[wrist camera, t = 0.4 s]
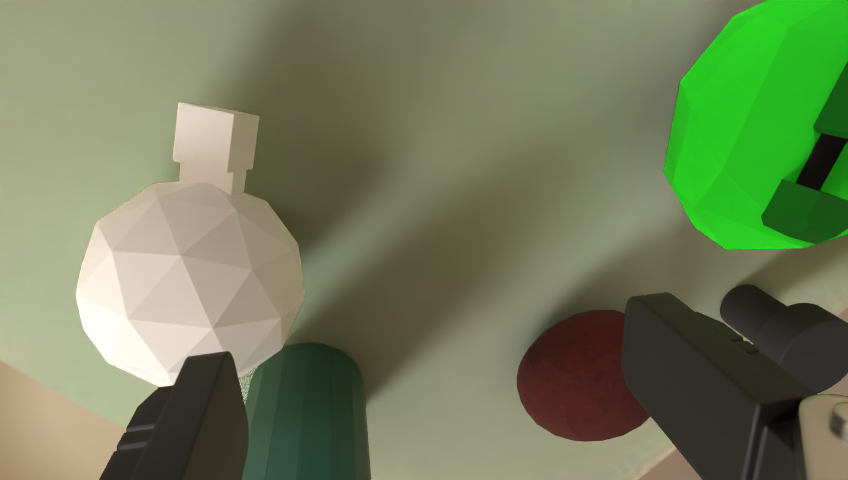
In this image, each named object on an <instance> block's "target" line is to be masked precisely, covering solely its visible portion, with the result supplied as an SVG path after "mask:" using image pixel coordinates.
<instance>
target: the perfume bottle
mask: <svg viewBox="0 0 848 480" xmlns="http://www.w3.org/2000/svg"><path fill="white" fill-rule="evenodd" d="M259 117H260V116H257V115H253V114H248V113H243V112H238V111H234V110H229V109H224V108H220V107H215V106H210V105H201V104H190V103H180V102H178V111H177V121H176V131H175V142H174V152H173V161H175V162H180V163H181V164H180V174H179V181H178V182H163V183H154V184H152V185H151V186H149V187H148V188H146V189H145V190H143V191H142V192H140V193H139V194H137V195H136V196H134V197H133V198H131V199H130V200H128V201H127V202H125V203H124V204H122V205H121V206H120V207H118V208H117V209H115V210H114V211H112V212H111V213H109V214H108V215H106V216H105V217H103V218H102V219H100V220H99V221H97V222H96V224H95V227H94V230H93V233H92V236H91V239H90V242H89V245H88V248H87V251H86V254H85V257H84V260H83V263H82V266H81V270H80V275H79V280H78V284H77V289H76V299H77V304H78V308H79V313H80V318H81V322H82V327H83V330H84V331H85V332H86V334H87V335H88V337H89V338H90V339H91V341H92V342H93V343H94V345H95V346H96V347H97V349H98V350H99V351H100V353H101V354H102V356H103V357H104V358H105V360H106V361H107V362H108V363H109V364H111V365H113V366H115V367H118V368H120V369H122V370H124V371H126V372H128V373H131V374H133V375H135V376H137V377H139V378H142V379H144V380H146V381H148V382H150V383H152V384H155V385H157V386H159V387H164V386H171V385H174V383H175V381H176V379H177V377H178V374H179V372H180V370H181V368H182V366H183V364H184V361H185V360H186V358H187V357H189V356H195V355H202V354H209V353H217V352H224V351H229V352H230V353H231V354H232V356H233V359H234V362H235V366H236V371H237V375H238V379H239V378H241V377H242V376H244V375H245V374H247V373H248V372H250V371H251V370H252V369H254V368H255V367H257V366H258V365H260V364H261V363H263V362H264V361H266V360H267V359H268V358H270V357H271V356H273V355H274V354H276V353H277V352H279V351H280V350H281V349H282V347H283V345H284V343H285V341H286V339H287V336H288V334H289V332H290V330H291V328H292V325H293V323H294V321H295V319H296V317H297V315H298V312H299V310H300V308H301V306H302V304H303V301H304V299H305V297H306V296H305V289H304V282H303V275H302V268H301V261H300V254H299V247H298V243H297V242H296V240H295V239H294V238H293V236H292V235H291V234H290V232H289V231H288V230H287V228H286V227H285V226H284V224H283V223H282V221H281V220H280V219H279V217H278V216H277V215H276V213H275V212H274V211H273V209H272V208H271V207H270V205H269V204H268V203H267V201H265V200H262V199H259V198H257V197H254V196H252V195H249V194H247V193H244V187H245V179H246V172H247V170H250V169H253V163H254V155H255V147H256V140H257V132H258V124H259Z"/></svg>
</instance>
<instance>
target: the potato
mask: <svg viewBox="0 0 848 480" xmlns="http://www.w3.org/2000/svg"><path fill="white" fill-rule="evenodd" d="M624 322H625V313H623V312H619V311H614V310H591V311H587V312H583V313H578V314H575V315H573V316H571V317H569V318H567V319H564V320H562V321H560V322H558V323H557V324H555V325H554V326H552V327H551V328H549V329H548V330H546V331H545V332H544V333H543V334H542V335H541V336H539V338H538V339H537V340H536V341H535V342H534V343H533V344H532V345H531V346H530V347H529V349H528V350H527V352H526V354H525V355H524V357H523V359H522V361H521V363H520V365H519V370H518V374H517V388H518V392H519V396H520V400H521V402H522V404H523V406H524V408H525V410H526V411H527V413H528V414H529V415H530V416H531V418H532V419H533V420H534V421H535V422H536V423H537V424H538V425H539V426H541V427H543V428H544V429H546V430H547V431H549V432H551V433H552V434H554V435H556V436H560V437H563V438H566V439H570V440H573V441H603V440H607V439H611V438H615V437H618V436H622V435H625V434H626V433H628V432H630V431H632V430H634V429H635V428H637V427H639V426H641V425H642V424H643V423H644V422H645V421H646V420H647V419H648V418H649V417H650V415H649V413H648V412H647V411H646V410H645V408H644V407H643V406H642V405H641V404H640V402H639V401H638V400H637V399H636V397H635V396H634V395H633V394H632V392H631V391H630V390H629V388H628V386H627V384H626V382H625V379H624V376H623V372H622V364H621V360H622V347H623V334H624Z"/></svg>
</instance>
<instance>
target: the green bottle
mask: <svg viewBox="0 0 848 480" xmlns="http://www.w3.org/2000/svg"><path fill="white" fill-rule="evenodd" d="M245 409H246V413H247V418H248V426H249V446H248V452H247V457H246V462H245V466H244V471H243V476H242V480H371V471H370V458H369V444H368V431H367V418H366V404H365V394H364V387H363V379H362V375H361V373H360V371H359V369H358V367H357V366H356V364H355V363H354V362H353V361H352V360H351V359H350V358H349V357H348V356H347V355H346V354H344V353H343V352H341V351H339V350H337V349H335V348H333V347H330V346H327V345H323V344H317V343H300V344H294V345H290V346H287V347H284V348H282V349H281V350H280V351H279V352H277V353H276V354H274V355H273V356H271V357H270V358H268V359H267V360H266V361H264V362H263V363H261V364H260V365H259V366H258V368H257V369H256V371H255V373H254V375H253V377H252V379H251V383H250V388H249V392H248V396H247V400H246V404H245Z"/></svg>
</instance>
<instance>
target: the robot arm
mask: <svg viewBox="0 0 848 480" xmlns="http://www.w3.org/2000/svg"><path fill="white" fill-rule="evenodd" d="M621 364H622V372H623V376H624V379H625V382H626V384H627V386H628V388H629V390H630V391H631V392H632V394H633V395H634V396H635V397H636V399H637V400H638V401H639V402H640V404H641V405H642V406H643V407H644V408H645V410H646V411H647V412H648V413H649V415H650V416H651V417H652V418H653V420H654V421H655V422H656V423H657V424H658V426H659V427H660V428H661V429H662V431H663V432H664V433H665V434H666V435H667V437H668V438H669V439H670V440H671V442H672V443H673V444H674V445H675V447H676V448H677V449H678V450H679V451H680V453H681V454H682V455H683V456H684V458H685V459H686V460H687V461H688V462H689V464H690V465H691V466H692V467H693V469H694V470H695V471H696V472H697V473H698V475H699V476H700V477H701V478H702V480H848V396H843V395H836V394H819V395H818V394H816V393H815V392H814V391H812V390H811V389H810V388H808V387H807V386H806V385H804V384H803V383H802V382H800V381H799V380H798V379H797V378H795V377H794V376H793V375H791V374H790V373H789V372H787V371H786V370H785V369H783V368H782V367H781V366H779V365H778V364H777V363H775V362H774V361H773V360H771V359H770V358H769V357H767V356H766V355H765V354H763V353H762V354H760V353H759V350H758V349H757V348H756V347H754V346H753V345H752V344H750V343H749V342H748V341H743V338H742V337H741V336H740V335H738V334H737V333H736V332H734V331H733V330H732V329H730V328H729V327H728V326H726V325H725V324H724V323H722V322H720V321H717V320H715V319H713V318H710V317H708V316H706V315H703V314H701V313H699V312H694V311H693V310H691V309H690V308H689V307H688V306H686V305H685V304H684V303H683V302H681V301H680V300H679V299H677V298H676V297H675V296H674V295H672V294H671V293H668V292H663V293H655V294H648V295H641V296H633V297H631V298H629V300H628V301H627V304H626V310H625V322H624V334H623V347H622V360H621ZM126 430H127V432H126V433H124V434H123V436H122V438H121V440H120V441H119V443H118V445H117V451H115V452H114V453H113V455H112V457H111V459H110V460H109V462H108V464H107V466H106V468H105V470H104V472H103V473H102V475H101V477H100V479H99V480H242V476H243V471H244V466H245V462H246V457H247V452H248V446H249V426H248V418H247V413H246V409H245V405H244V401H243V396H242V392H241V388H240V383H239V379H238V375H237V371H236V366H235V362H234V359H233V356H232V354H231V353H230V352H229V351H224V352H217V353H209V354H202V355H195V356H189V357H187V358H186V360H185V361H184V364H183V366H182V368H181V370H180V372H179V374H178V377H177V379H176V381H175V383H174V385H171V386H164V387H159V388H158V389H157V390H156V391H155V392H153V393H152V394H151V395H150V396H149V397H148V398H147V399H146V400H145V401H144V402H143V403H142V404H141V405H139V406H138V408H137V409H136V411H135V413H134V415H133V417H132V419H131V421H130V423H129V424H128V426H127V428H126Z"/></svg>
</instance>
